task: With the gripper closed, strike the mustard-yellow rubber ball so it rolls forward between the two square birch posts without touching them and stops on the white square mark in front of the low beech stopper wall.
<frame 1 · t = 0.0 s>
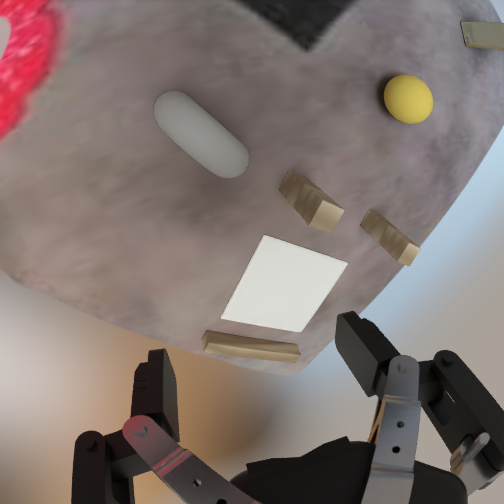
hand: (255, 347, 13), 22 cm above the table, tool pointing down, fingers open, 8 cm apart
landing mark: (285, 290, 42), on the table
stopper wall: (252, 342, 46), on the table
ball: (408, 99, 28), on the table
donut: (198, 126, 28), on the table
skincare box: (472, 34, 26), on the table
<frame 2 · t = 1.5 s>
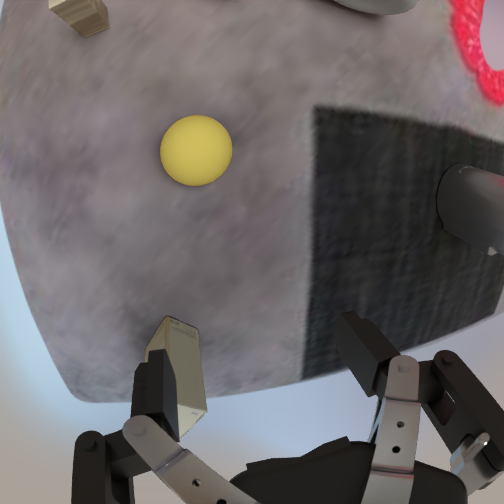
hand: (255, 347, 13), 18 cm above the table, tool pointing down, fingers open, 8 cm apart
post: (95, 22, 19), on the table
ball: (196, 150, 24), on the table
donut: (344, 0, 22), on the table
skincare box: (171, 339, 34), on the table
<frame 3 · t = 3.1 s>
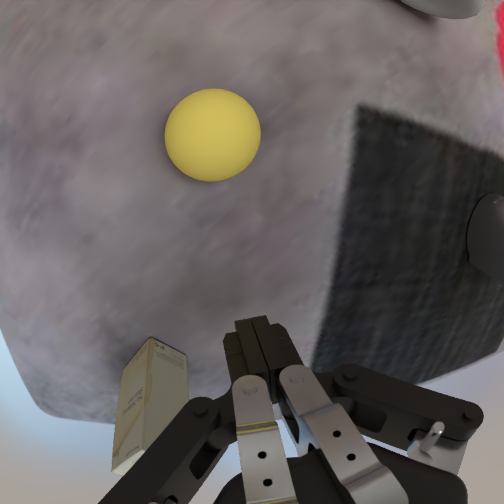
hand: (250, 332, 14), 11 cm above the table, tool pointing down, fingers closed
ball: (212, 134, 18), on the table
skincare box: (153, 363, 28), on the table
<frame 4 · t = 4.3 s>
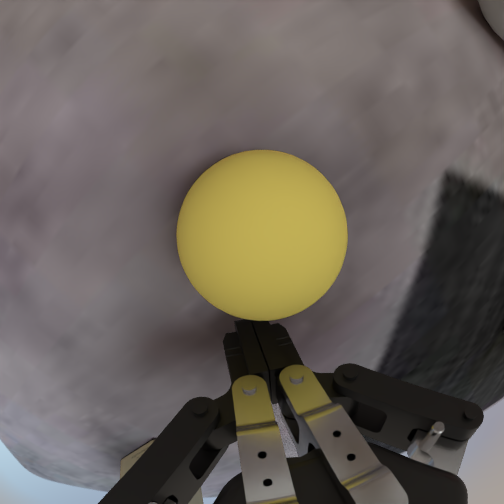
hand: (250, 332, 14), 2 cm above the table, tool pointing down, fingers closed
ball: (262, 235, 11), on the table
donut: (488, 23, 11), on the table
skincare box: (157, 455, 20), on the table
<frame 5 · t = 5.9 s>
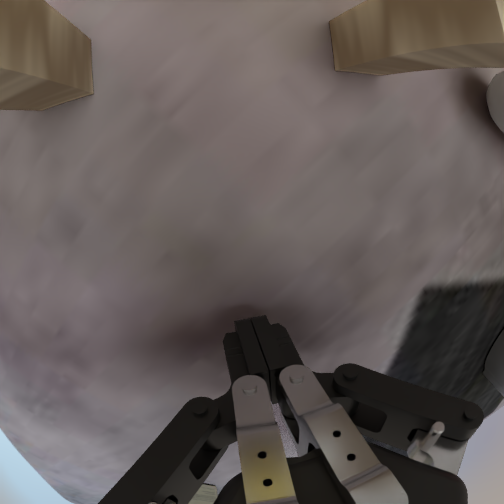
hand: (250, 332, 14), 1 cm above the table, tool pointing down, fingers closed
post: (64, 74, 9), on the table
donut: (493, 112, 14), on the table
skincare box: (184, 488, 24), on the table
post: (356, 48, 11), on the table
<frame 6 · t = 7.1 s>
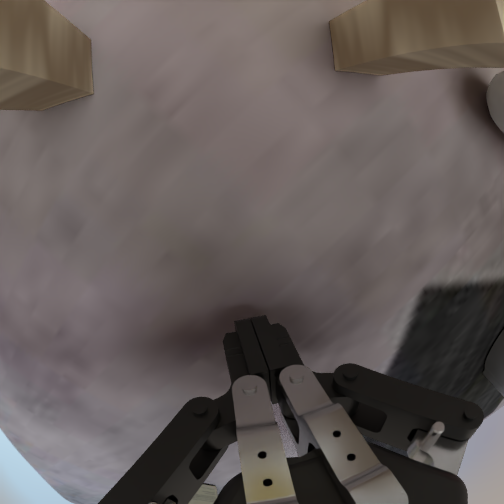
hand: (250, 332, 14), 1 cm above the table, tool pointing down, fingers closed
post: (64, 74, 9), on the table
donut: (493, 112, 14), on the table
skincare box: (184, 488, 24), on the table
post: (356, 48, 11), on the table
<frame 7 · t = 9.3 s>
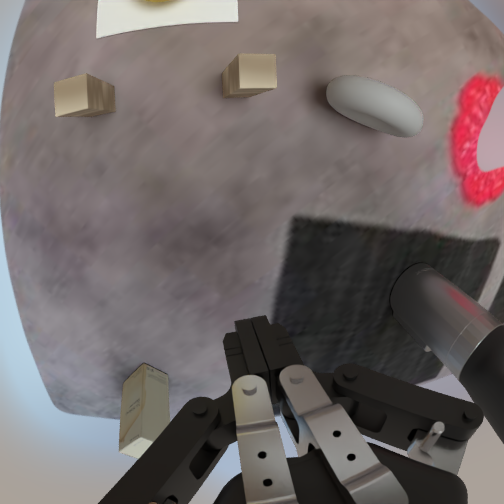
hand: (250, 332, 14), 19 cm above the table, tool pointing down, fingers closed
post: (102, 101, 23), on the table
donut: (348, 106, 29), on the table
skincare box: (145, 378, 39), on the table
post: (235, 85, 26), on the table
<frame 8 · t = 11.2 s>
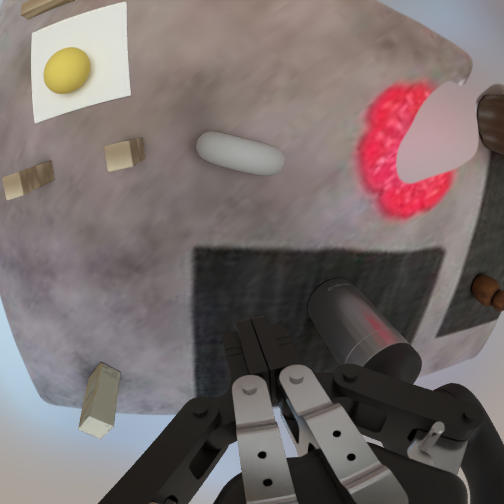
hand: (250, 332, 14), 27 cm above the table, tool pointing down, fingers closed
wooden figurine: (475, 282, 59), on the table
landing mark: (76, 59, 27), on the table
plant pot: (490, 122, 42), on the table
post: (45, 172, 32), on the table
ball: (66, 70, 25), on the table
donut: (233, 149, 37), on the table
skincare box: (104, 374, 46), on the table
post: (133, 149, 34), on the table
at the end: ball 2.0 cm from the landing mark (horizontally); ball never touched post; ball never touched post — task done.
